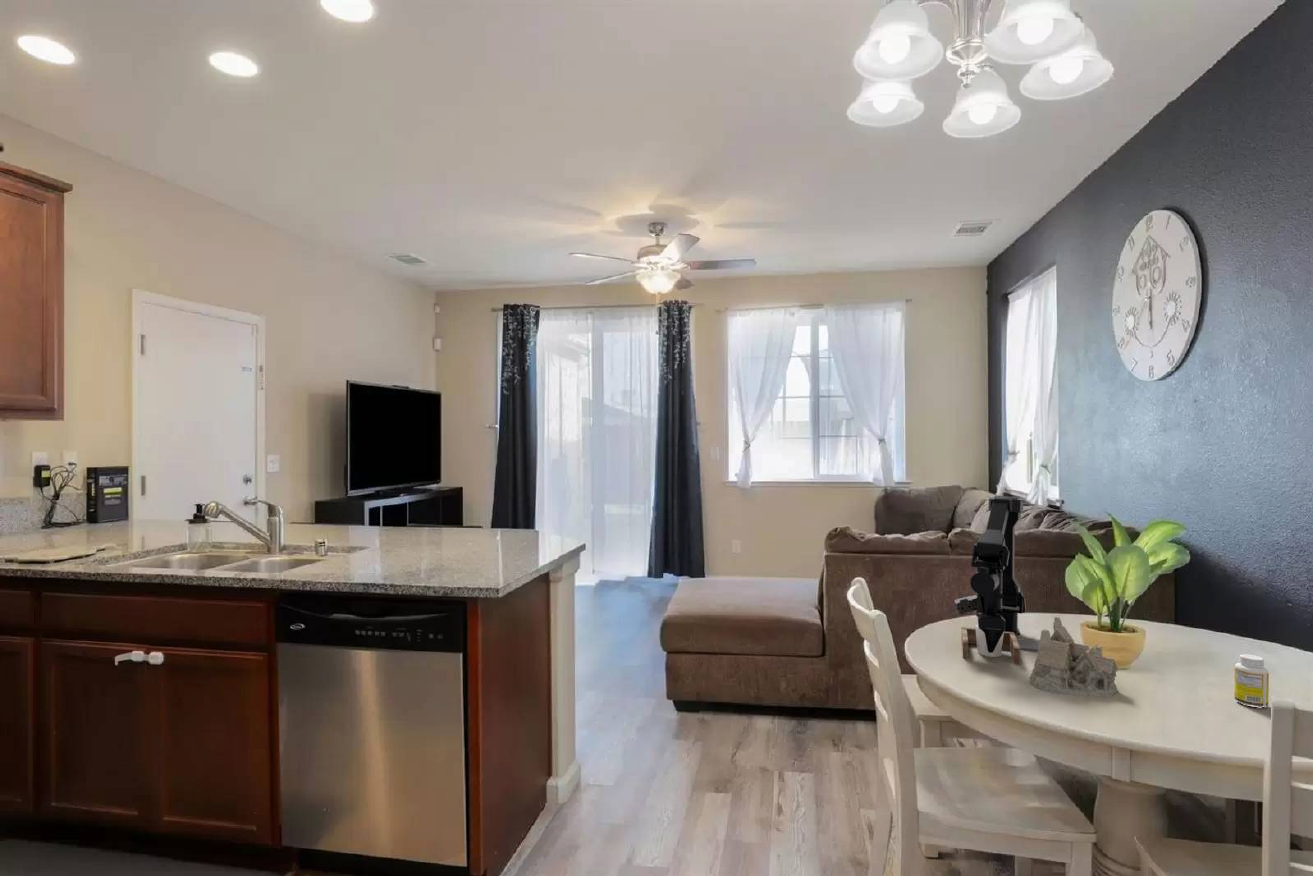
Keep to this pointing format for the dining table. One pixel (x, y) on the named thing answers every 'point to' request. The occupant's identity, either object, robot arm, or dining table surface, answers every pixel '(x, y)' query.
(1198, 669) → the dining table surface
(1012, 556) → the robot arm
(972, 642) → the brown wooden u-shaped piece
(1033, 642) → the coaster
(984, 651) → the white cup
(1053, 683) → the ceramic cottage
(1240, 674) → the supplement bottle
